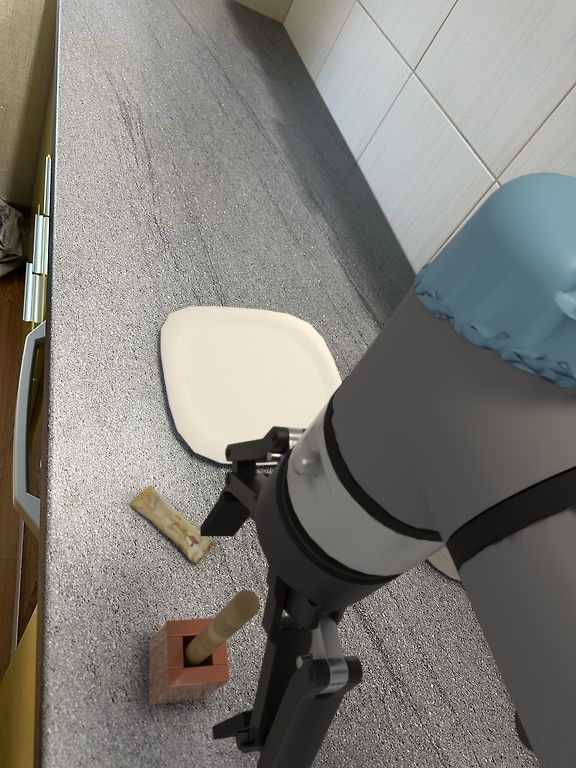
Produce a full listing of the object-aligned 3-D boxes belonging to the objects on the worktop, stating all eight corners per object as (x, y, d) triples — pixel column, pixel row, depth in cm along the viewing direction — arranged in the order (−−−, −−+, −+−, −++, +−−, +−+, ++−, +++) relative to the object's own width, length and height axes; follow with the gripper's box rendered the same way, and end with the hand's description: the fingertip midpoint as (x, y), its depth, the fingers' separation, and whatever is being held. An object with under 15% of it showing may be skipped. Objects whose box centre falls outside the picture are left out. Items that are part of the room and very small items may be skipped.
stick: (186, 681, 53) (261, 616, 37) (166, 683, 52) (235, 618, 37) (185, 659, 54) (258, 588, 38) (166, 661, 53) (233, 589, 38)
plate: (150, 308, 78) (152, 299, 77) (313, 319, 89) (318, 312, 88) (176, 475, 65) (179, 468, 63) (364, 464, 76) (370, 458, 74)
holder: (204, 698, 52) (229, 681, 47) (149, 704, 50) (168, 687, 45) (200, 640, 55) (224, 617, 49) (148, 644, 53) (166, 620, 47)
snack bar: (128, 503, 60) (149, 482, 61) (130, 506, 61) (150, 485, 62) (196, 565, 58) (215, 543, 59) (196, 567, 60) (215, 545, 61)
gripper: (250, 285, 31) (167, 465, 47) (337, 873, 17) (179, 852, 33) (368, 306, 34) (253, 469, 50) (525, 825, 20) (297, 827, 36)
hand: (223, 622), depth 41 cm, fingers open, 13 cm apart
